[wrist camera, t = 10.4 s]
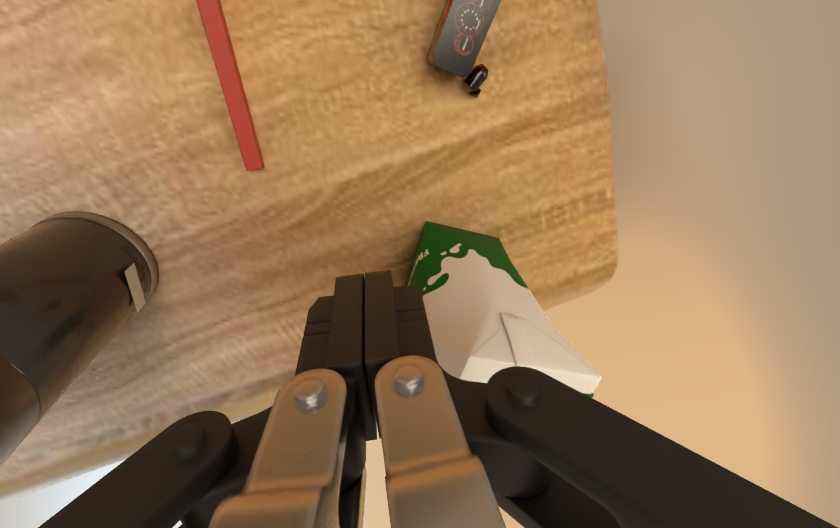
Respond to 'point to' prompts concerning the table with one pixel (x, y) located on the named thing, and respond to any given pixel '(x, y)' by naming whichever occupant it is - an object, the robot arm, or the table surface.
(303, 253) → the table surface
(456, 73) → the black gauge box
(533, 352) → the milk carton
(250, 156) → the spoon
